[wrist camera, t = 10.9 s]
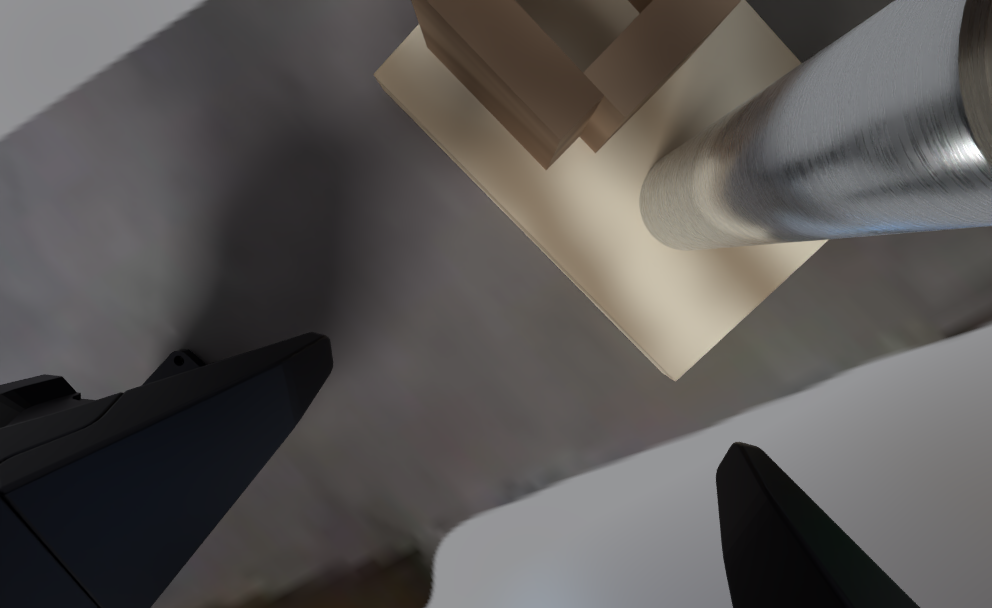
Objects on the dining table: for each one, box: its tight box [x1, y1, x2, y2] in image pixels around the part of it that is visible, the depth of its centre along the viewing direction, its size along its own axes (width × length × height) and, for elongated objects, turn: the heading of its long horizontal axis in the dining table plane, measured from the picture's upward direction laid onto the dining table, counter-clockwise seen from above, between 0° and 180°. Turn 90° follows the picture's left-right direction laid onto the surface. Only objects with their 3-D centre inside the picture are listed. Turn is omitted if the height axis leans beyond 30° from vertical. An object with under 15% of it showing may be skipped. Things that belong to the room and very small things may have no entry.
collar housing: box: [373, 0, 829, 381], centre depth 15 cm, size 13×19×6 cm
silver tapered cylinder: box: [639, 0, 992, 251], centre depth 10 cm, size 5×5×13 cm
